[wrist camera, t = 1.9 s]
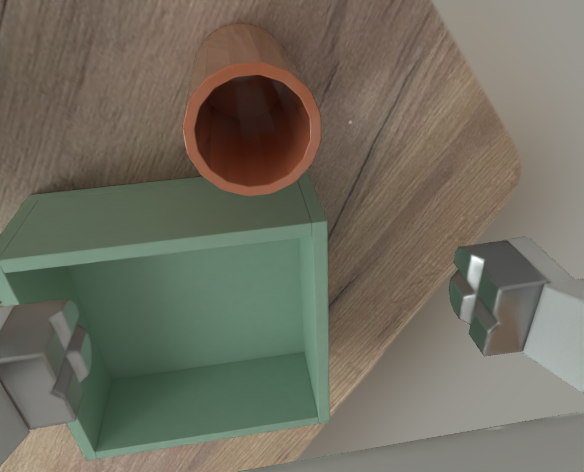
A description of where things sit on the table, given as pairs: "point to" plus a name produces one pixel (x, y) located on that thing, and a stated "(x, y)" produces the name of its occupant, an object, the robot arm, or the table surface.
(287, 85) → the cup
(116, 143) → the table surface
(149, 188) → the open box
